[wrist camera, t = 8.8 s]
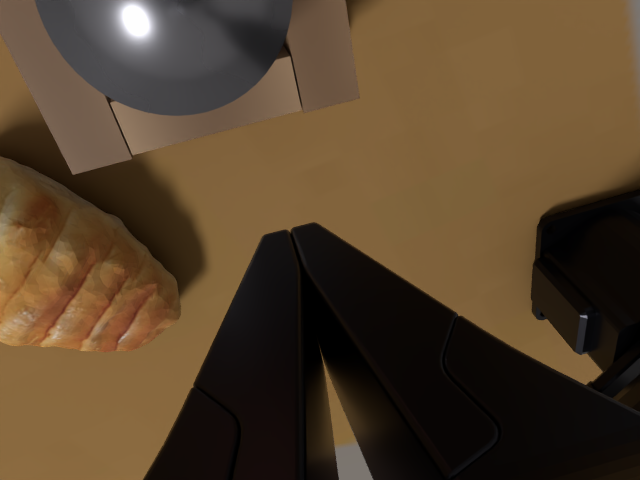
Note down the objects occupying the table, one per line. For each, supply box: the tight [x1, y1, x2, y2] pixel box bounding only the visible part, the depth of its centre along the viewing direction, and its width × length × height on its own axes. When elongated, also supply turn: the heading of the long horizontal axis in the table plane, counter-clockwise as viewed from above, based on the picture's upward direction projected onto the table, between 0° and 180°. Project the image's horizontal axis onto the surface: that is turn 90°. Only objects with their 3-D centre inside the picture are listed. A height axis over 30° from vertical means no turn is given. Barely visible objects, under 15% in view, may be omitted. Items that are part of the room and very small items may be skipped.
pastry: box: [0, 156, 181, 352], centre depth 21 cm, size 9×7×4 cm
